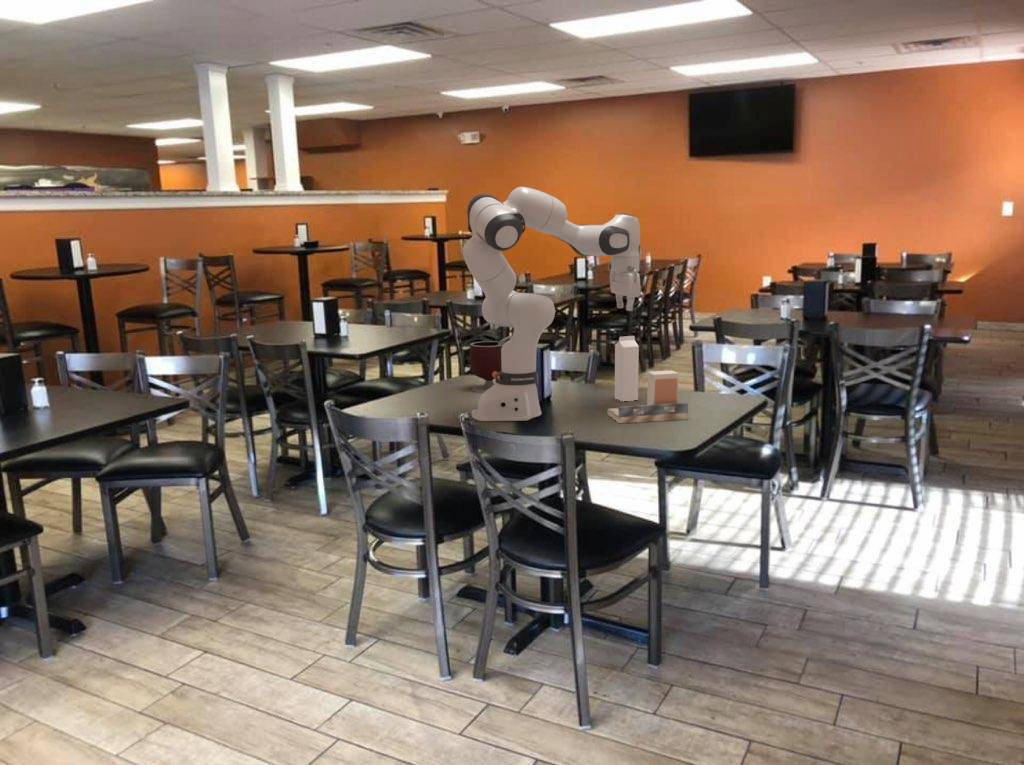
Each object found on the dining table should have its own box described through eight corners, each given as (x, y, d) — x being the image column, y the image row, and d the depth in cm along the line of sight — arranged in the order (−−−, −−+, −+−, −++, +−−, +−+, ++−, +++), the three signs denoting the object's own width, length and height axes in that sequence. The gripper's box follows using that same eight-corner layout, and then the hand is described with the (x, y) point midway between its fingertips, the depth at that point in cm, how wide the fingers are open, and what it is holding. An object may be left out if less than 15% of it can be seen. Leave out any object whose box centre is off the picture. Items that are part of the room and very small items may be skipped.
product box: (653, 412, 260) (654, 374, 258) (647, 408, 266) (647, 371, 263) (677, 411, 261) (678, 373, 259) (671, 407, 267) (671, 370, 265)
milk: (614, 399, 291) (614, 335, 286) (630, 397, 293) (630, 334, 289) (622, 402, 285) (623, 337, 281) (638, 400, 287) (639, 336, 283)
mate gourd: (468, 393, 304) (467, 338, 300) (472, 386, 317) (470, 333, 313) (511, 393, 303) (510, 338, 299) (513, 385, 317) (512, 333, 313)
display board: (619, 423, 255) (619, 407, 254) (607, 414, 267) (607, 399, 266) (687, 419, 260) (688, 403, 259) (672, 410, 271) (673, 395, 270)
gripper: (645, 267, 258) (644, 312, 261) (625, 264, 278) (624, 306, 280) (626, 267, 257) (625, 312, 259) (606, 264, 277) (606, 306, 279)
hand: (624, 309), depth 270 cm, fingers open, 8 cm apart
